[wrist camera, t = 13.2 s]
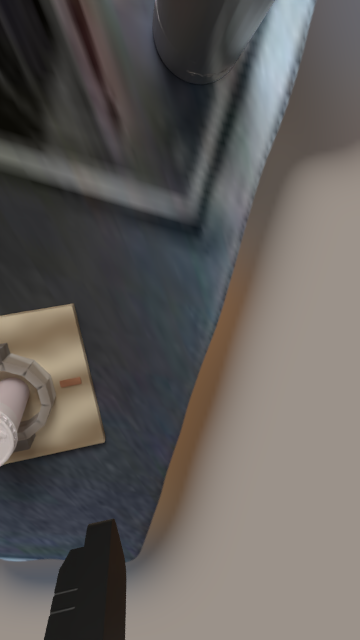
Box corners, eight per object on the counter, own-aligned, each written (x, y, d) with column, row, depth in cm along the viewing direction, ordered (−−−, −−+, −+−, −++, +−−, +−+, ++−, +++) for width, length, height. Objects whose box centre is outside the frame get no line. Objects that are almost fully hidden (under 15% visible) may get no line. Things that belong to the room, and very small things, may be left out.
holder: (-94, 331, 35) (-119, 342, 32) (73, 303, 37) (68, 310, 34) (-40, 468, 40) (-56, 490, 37) (105, 436, 42) (103, 454, 39)
